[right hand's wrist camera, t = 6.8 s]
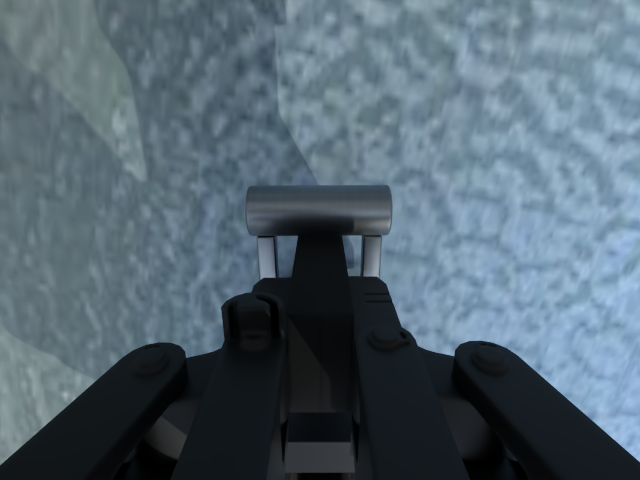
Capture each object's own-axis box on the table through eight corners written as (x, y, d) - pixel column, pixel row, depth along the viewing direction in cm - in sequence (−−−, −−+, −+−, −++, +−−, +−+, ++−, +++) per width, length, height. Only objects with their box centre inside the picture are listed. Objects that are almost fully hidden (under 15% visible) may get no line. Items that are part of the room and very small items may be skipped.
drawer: (264, 160, 17) (200, 232, 8) (375, 159, 17) (435, 231, 8) (284, 485, 24) (262, 709, 15) (360, 485, 24) (382, 709, 15)
